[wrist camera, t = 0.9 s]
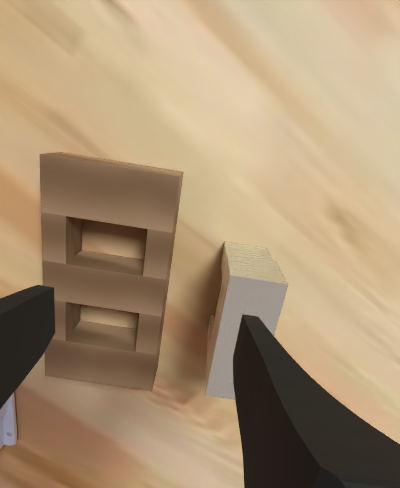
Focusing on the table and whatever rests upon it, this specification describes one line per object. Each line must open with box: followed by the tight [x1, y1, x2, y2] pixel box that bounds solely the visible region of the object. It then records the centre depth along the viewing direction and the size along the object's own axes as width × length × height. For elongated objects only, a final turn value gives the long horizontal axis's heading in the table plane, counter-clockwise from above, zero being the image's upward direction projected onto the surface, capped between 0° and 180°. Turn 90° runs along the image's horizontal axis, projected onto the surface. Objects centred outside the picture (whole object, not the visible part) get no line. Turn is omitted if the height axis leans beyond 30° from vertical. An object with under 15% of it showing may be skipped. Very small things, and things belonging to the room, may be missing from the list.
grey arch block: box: [205, 242, 288, 400], centre depth 19 cm, size 8×3×6 cm, turn 171°
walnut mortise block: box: [40, 152, 183, 391], centre depth 21 cm, size 16×8×2 cm, turn 171°
